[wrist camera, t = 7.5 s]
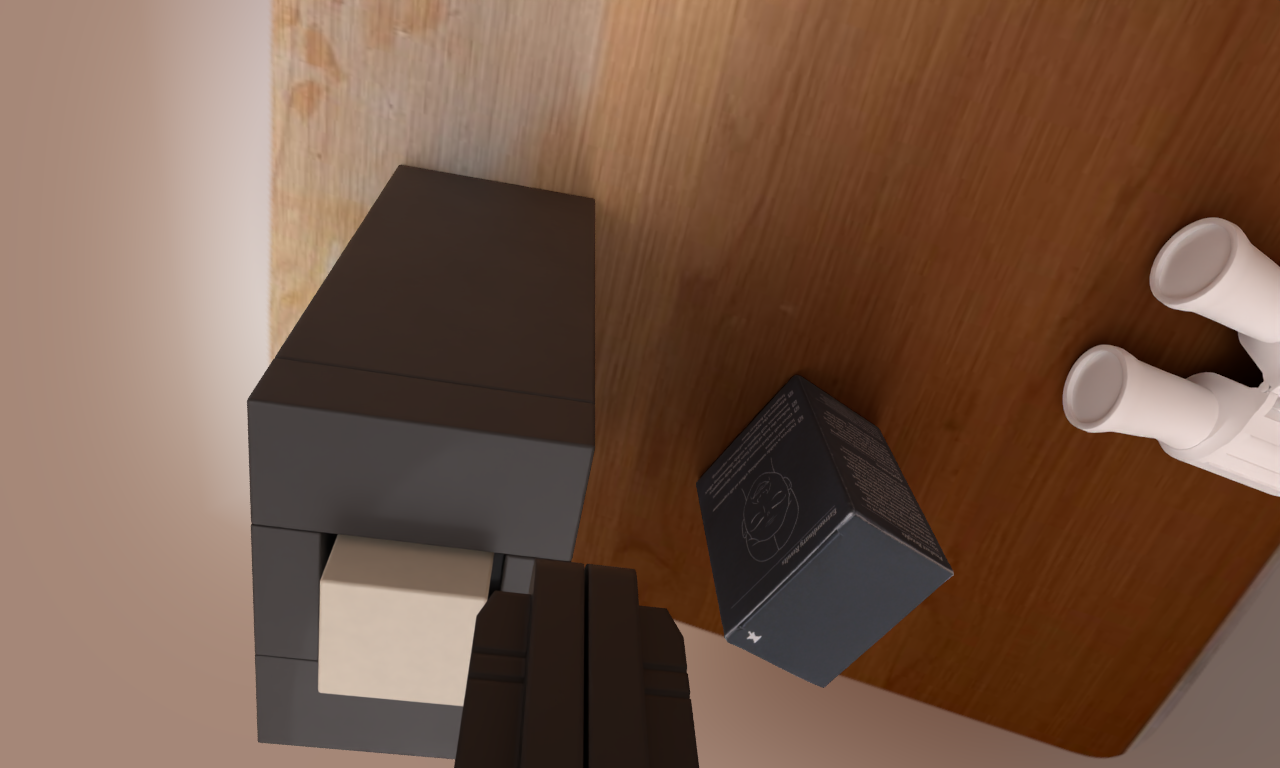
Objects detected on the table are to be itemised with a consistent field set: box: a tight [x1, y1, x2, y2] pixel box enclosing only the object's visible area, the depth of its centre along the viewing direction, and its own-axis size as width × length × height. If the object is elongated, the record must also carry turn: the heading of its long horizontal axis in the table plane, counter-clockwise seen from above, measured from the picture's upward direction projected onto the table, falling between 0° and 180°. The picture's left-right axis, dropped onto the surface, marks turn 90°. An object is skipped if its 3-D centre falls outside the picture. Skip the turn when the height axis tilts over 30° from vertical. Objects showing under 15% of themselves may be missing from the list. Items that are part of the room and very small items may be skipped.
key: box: [318, 534, 494, 706], centre depth 23 cm, size 4×4×2 cm
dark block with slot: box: [247, 165, 595, 759], centre depth 31 cm, size 12×8×18 cm, turn 169°
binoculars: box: [1063, 217, 1280, 497], centre depth 40 cm, size 10×16×5 cm, turn 67°
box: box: [696, 375, 954, 688], centre depth 39 cm, size 8×6×11 cm
